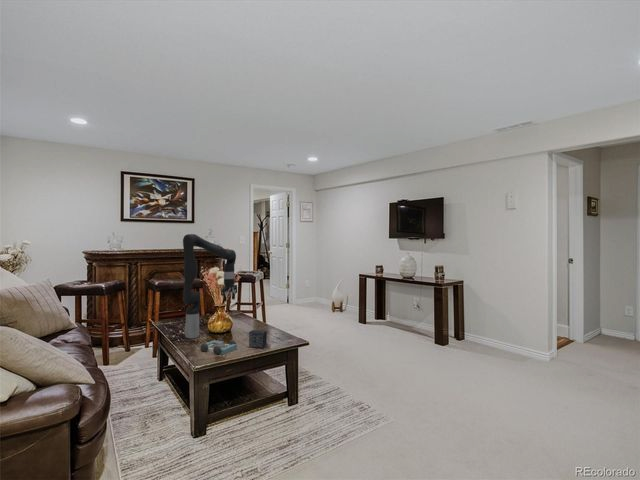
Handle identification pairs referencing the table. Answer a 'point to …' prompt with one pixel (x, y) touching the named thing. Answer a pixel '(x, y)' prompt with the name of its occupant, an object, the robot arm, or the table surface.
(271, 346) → the table surface
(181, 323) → the table surface
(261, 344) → the small box
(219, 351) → the chassis
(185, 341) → the table surface
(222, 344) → the block
